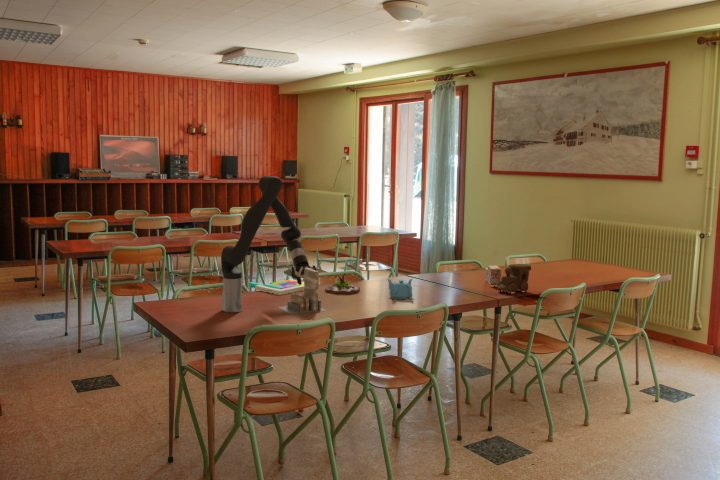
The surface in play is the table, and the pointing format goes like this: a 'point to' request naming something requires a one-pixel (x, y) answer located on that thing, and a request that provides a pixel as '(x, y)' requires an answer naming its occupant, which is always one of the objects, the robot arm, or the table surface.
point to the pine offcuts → (300, 301)
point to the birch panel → (311, 286)
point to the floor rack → (295, 308)
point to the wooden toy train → (515, 278)
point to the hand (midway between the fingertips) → (308, 283)
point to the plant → (342, 287)
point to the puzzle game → (279, 287)
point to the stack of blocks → (492, 275)
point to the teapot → (400, 289)
